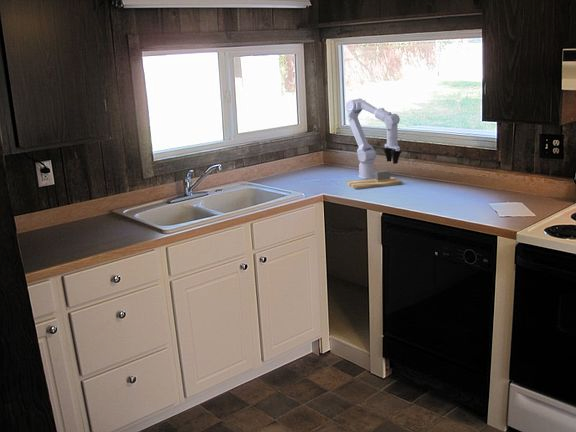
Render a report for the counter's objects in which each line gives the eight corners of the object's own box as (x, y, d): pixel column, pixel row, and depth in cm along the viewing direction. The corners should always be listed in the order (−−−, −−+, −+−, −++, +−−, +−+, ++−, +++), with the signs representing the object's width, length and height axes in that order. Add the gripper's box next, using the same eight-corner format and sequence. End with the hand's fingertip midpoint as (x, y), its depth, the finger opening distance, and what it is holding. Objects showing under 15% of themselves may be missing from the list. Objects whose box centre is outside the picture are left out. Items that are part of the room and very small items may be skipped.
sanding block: (374, 180, 335) (374, 171, 334) (387, 179, 336) (387, 169, 335) (377, 181, 331) (377, 172, 330) (390, 180, 333) (390, 171, 331)
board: (346, 184, 337) (346, 181, 336) (391, 179, 343) (391, 176, 342) (355, 189, 324) (355, 186, 323) (402, 184, 329) (402, 181, 329)
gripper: (379, 136, 339) (379, 161, 343) (391, 139, 326) (391, 165, 329) (391, 135, 341) (391, 159, 344) (403, 138, 327) (403, 164, 331)
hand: (392, 162), depth 337 cm, fingers open, 7 cm apart
